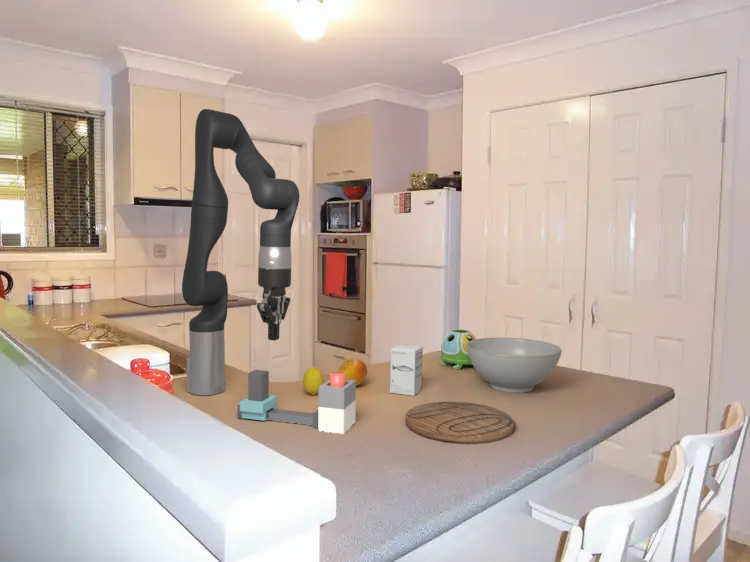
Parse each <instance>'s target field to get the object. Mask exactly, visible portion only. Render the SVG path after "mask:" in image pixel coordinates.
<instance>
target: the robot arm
mask: <svg viewBox="0 0 750 562" xmlns="http://www.w3.org/2000/svg"><path fill="white" fill-rule="evenodd" d="M194 130H195V131H194V179H193V191H192V200H191V210H190V211H191V212H190V227H189V229H190V230H189V235H188V236H189V239H188V247H187V253H186V254H187V255H186V260H185V264H184V270H183V274H182V275H183V276H182V283H181V292H182V298H183V300H184V302H185V303H186V304H187V305H188V306H191V307H200V306H201V307H202V309H201V311H200V312H198V314H197V315H195V316H193V317H192V318H190V320H189V323H188V324H189V325H188V329H189V332H188V333H189V356H188V357H186V392H187V393H190V394H192V395H195V396H213V395H218V394H221V393H223V392H224V391H226V368H225V367H226V363H225V361H226V359H225V357H226V354H225V352H226V351H225V350H226V349H225V348H226V347H225V343H226V342H225V341H226V340H225V323H226V320H227V317H228V303H229V302H228V301H229V299H228V298H229V297H228V295H229V290H228V289H229V287H228V281H227V279H226V277H225V274H224V273H222V272H221V271H219V270H208V265H209V264H208V263H209V260H210V259H209V258H210V255H211V253H212V251H213V249H214V248H215V246H216V244H217V243H218V241H219V239H220V238H221V236H222V235H223V233H224V231H225V229H226V227H227V222H228V213H229V212H228V211H229V197H228V194H227V192H226V189H225V188H224V185H223V183H222V182H221V179H220V178H219V177H220V176H218V175H219V174H218V173H217V170H216V166H215V160H214V159H215V157H214V150H215V149H214V148H216V149H221V150H230V151H232V152H234V153H235V154H236V155H235V159H234V160H235V161H234V163H235V168H236V170H237V172H238V173H239V175H240V176H241V177H242V178H243V180H244V181H245V183H246V184H247V185H248V189H249V191H250V194H251V198H252V200H253V203H254V204H255V205H256V206H258V207H259V208H261V209H263V210H275V211H276V210H277V212H276V214H275V217H274V218H272V219H267V220H263V221H262V222H261V223H260V226H259V227H260V228H259V250H258V261H257V262H258V264H257V265H258V268H257V269H258V270H257V271H258V272H257V284H258V286H259V287H262V288H263V291H262V300H261V302H257V303H256V308H257V310H258V313H259V316H260V318H261V321H262V323H264V324H265V323H266V324H267V326H268V327H267V339H268V341H278V340H279V339H280V324H281V323H282V321H284V320H285V317H286V315H287V312H288V309H289V306H290V302H291V298H290V297H287V296H286V294H287V293H286V292H287V291H286V288H289V287H290V286H292V251H291V250H292V248H291V246H292V245H291V244H292V241H291V240H292V227H293V225H294V221H295V217H296V212H297V210H298V206H299V203H300V191H299V190H300V189H299V187H298V186H297V184H296V183H295V181H293V180H290V179H282V178H276V176H277V175H276V171H275V169H274V167H273V166H272V165H271V164H270V162H269V161H267V159H266V158H265V157H264V156H263V155H262V154H261V152H259V150H258V149H257V147H256V146H255V143H254V141H253V140H252V138H251V136H250V135H249V134H250V133H249V132H248V130H247V129H246V127H245V125H244V123H243V122H242V121H241V119H240V118H239V117H238V116H237V115H235V114H232V113H230V112H229V113H228V112H225V111H224V112H223V111H219V110H214V109H211V108H210V109H209V108H204V109H202V110H200V112H199V113H198V115H197V117H196V121H195V127H194Z"/></svg>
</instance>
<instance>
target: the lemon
mask: <svg viewBox="0 0 750 562" xmlns="http://www.w3.org/2000/svg"><path fill="white" fill-rule="evenodd" d="M324 383H325V381H324V375H323V372H322V371H321V370H320V369H319V368H318V367H316V366H311V367H309V368H308V369H306V370H305V372H304V374H303V378H302V385H303V388H304V390H305V391H306V392H308V393H309V394H311V396H315V395H317V394H318V393H319V386H321V385H322V384H324Z"/></svg>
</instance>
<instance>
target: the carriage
mask: <svg viewBox="0 0 750 562" xmlns="http://www.w3.org/2000/svg"><path fill="white" fill-rule="evenodd" d="M269 374H270V371H269V370H263V369H262V370H261V369H254V370H252V371H249V372H248V373H247V382H248V384H247V387H248V388H247V389H248V393H247V394H248V395H247V396H248V397H246V398H243V399H242V400H240V401H239V404H240V411H242V418H243V419H248V420H257V421H263V422H264V421H266V411H268V410H270V409H271V408H273V409H276V406H277V405H278V396H277V395H271V394H270V393H269V392H270V391H269V390H270V389H269V388H270V387H269V386H270V382H269V379H270V378H269V377H270V375H269Z"/></svg>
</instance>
